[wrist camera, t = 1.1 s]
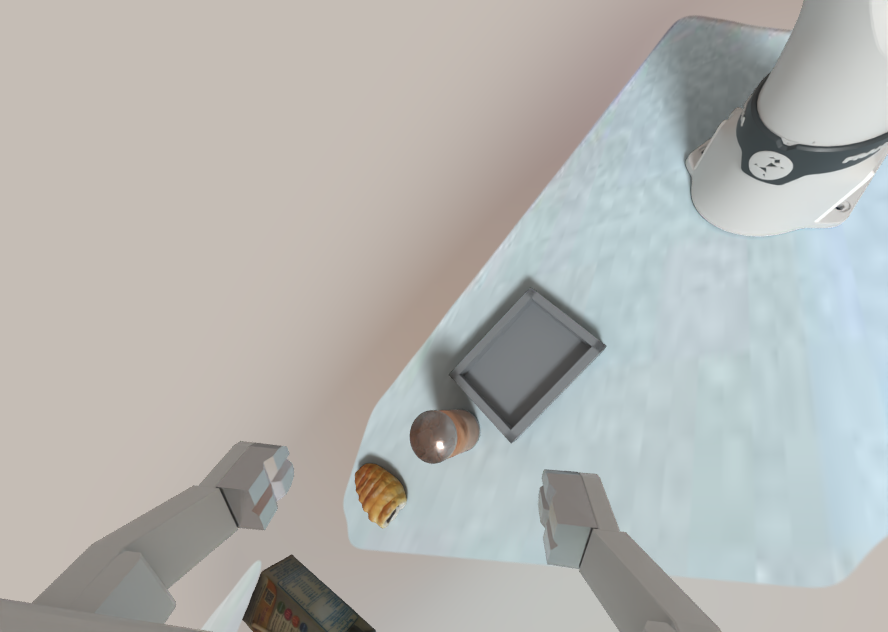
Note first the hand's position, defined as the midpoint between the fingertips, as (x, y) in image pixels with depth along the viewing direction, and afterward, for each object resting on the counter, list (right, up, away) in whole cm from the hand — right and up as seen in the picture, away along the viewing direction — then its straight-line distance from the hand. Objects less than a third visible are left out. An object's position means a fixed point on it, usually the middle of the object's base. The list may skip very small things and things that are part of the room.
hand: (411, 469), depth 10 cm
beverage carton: (-18, -41, +40) cm, 60 cm away
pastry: (-8, -23, +41) cm, 48 cm away
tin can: (+4, -13, +39) cm, 41 cm away
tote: (+13, -2, +38) cm, 40 cm away
